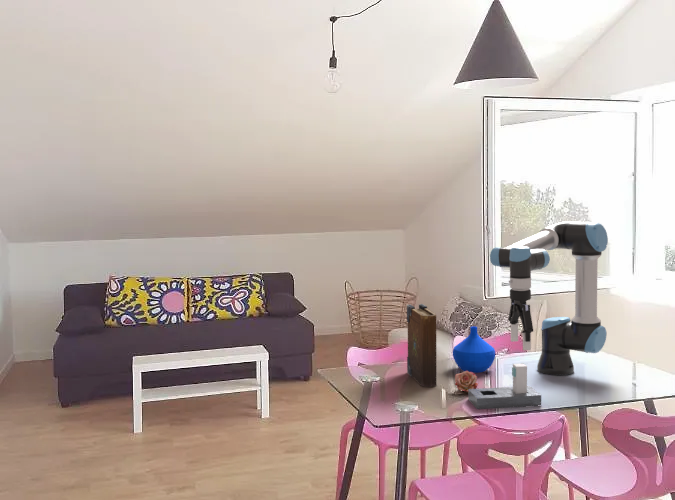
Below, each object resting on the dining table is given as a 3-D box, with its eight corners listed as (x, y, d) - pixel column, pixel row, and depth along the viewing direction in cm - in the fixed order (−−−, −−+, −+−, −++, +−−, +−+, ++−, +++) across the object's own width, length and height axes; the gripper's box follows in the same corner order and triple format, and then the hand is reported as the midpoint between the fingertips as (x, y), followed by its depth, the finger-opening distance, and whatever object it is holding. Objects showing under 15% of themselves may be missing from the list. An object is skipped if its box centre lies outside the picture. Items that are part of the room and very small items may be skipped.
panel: (529, 397, 285) (529, 386, 285) (541, 407, 273) (541, 395, 273) (468, 400, 283) (468, 389, 283) (477, 410, 271) (477, 398, 271)
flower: (451, 384, 299) (451, 371, 294) (473, 378, 300) (473, 365, 295) (459, 403, 292) (459, 390, 287) (482, 397, 293) (481, 384, 287)
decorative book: (407, 372, 324) (406, 304, 320) (423, 371, 325) (422, 303, 322) (422, 388, 301) (421, 314, 297) (439, 386, 302) (438, 313, 299)
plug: (523, 399, 281) (523, 363, 279) (526, 403, 277) (527, 366, 275) (511, 400, 280) (511, 364, 279) (514, 403, 276) (514, 366, 275)
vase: (448, 373, 321) (448, 330, 319) (457, 363, 338) (457, 321, 336) (491, 377, 314) (491, 332, 312) (498, 366, 331) (498, 324, 329)
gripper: (499, 284, 286) (500, 338, 289) (521, 295, 262) (522, 354, 264) (518, 283, 287) (519, 337, 289) (542, 294, 262) (542, 353, 265)
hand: (520, 345), depth 277 cm, fingers open, 13 cm apart
